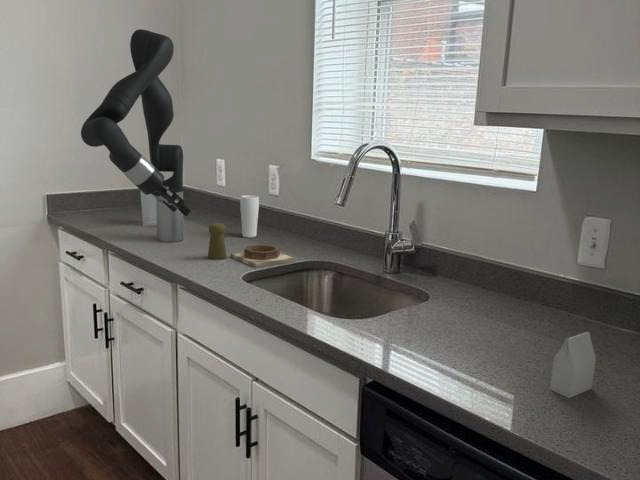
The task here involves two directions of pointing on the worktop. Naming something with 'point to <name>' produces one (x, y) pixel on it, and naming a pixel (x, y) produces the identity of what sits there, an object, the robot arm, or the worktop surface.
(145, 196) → the skincare box
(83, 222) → the worktop surface
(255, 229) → the drinking glass
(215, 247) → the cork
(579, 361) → the milk carton
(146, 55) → the robot arm
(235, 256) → the board
